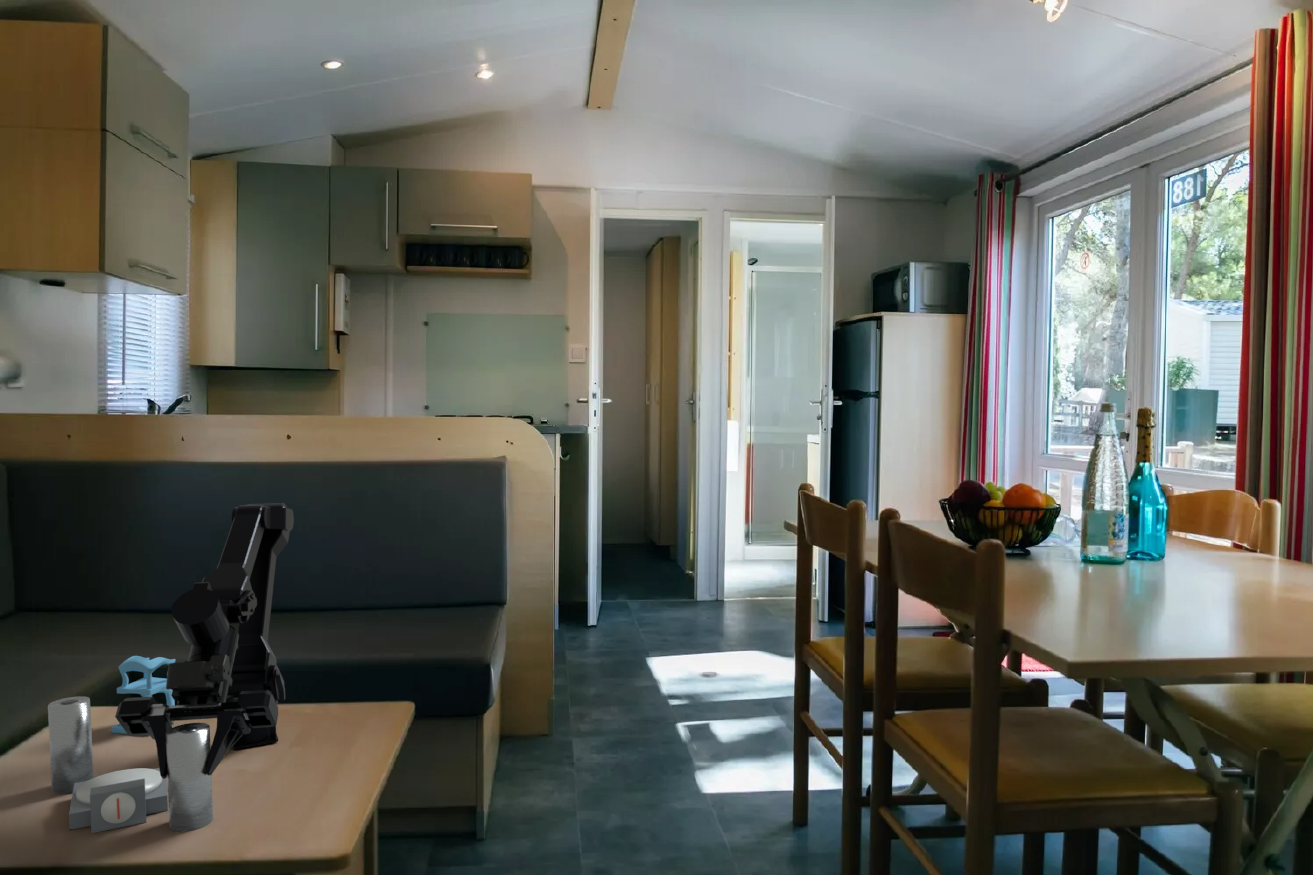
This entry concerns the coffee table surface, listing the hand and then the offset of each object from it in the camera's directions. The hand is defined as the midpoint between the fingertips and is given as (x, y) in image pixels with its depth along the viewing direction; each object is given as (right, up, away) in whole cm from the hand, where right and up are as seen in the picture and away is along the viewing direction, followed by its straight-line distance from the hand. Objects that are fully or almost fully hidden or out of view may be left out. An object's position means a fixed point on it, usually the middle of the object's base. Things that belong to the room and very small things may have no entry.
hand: (185, 775), depth 119 cm
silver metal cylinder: (0, -7, +2) cm, 7 cm away
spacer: (-23, -6, +13) cm, 27 cm away
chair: (-25, -5, +38) cm, 46 cm away
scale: (-12, -6, +6) cm, 15 cm away
